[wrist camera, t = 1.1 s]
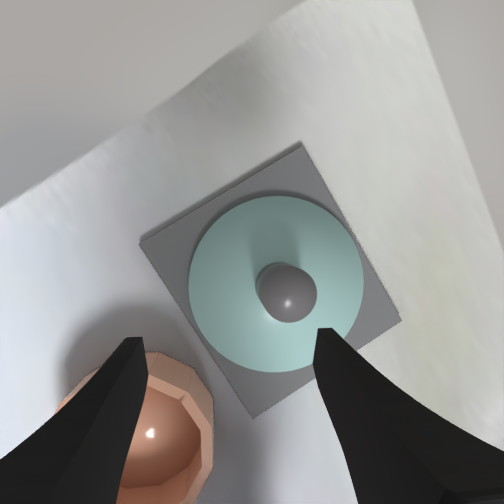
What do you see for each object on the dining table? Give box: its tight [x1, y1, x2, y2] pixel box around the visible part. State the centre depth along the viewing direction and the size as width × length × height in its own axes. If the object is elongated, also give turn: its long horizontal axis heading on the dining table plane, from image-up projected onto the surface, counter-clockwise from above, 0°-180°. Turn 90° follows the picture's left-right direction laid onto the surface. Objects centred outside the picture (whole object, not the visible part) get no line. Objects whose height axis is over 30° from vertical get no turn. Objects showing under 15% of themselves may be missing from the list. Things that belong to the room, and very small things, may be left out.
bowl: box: [54, 352, 214, 504], centre depth 23 cm, size 12×12×4 cm
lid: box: [188, 196, 364, 372], centre depth 23 cm, size 15×15×5 cm
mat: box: [139, 146, 402, 419], centre depth 26 cm, size 18×16×1 cm
